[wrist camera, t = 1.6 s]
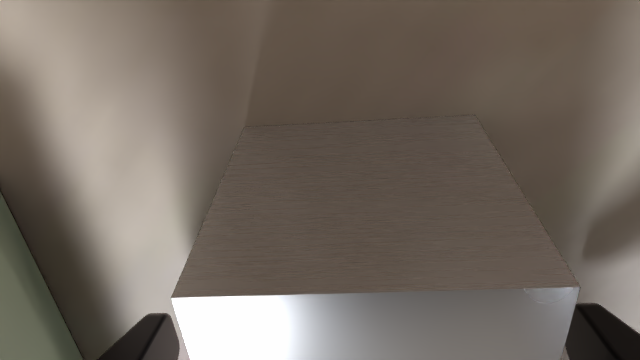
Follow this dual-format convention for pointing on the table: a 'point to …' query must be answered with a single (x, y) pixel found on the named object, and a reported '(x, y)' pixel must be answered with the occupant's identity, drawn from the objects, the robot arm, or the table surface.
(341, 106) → the table surface
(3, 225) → the tray
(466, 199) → the strut
